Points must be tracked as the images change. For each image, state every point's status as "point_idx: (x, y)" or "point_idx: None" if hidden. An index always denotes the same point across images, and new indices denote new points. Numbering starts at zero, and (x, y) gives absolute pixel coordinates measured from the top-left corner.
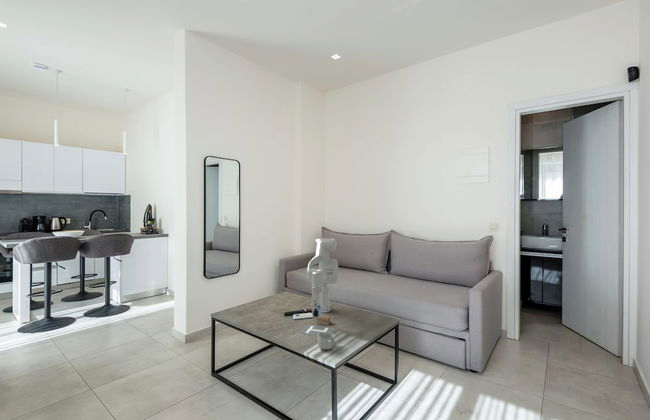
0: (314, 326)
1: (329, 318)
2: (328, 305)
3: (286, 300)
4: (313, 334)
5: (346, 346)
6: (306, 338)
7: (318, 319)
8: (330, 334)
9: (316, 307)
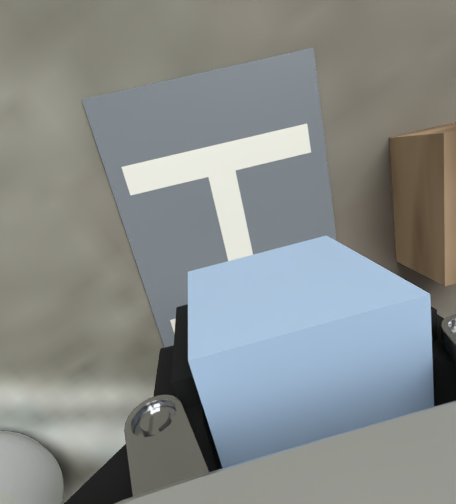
0: (310, 162)
1: None
2: None
3: None
4: (137, 262)
5: None
6: (25, 250)
7: (424, 161)
8: None
9: (393, 365)
